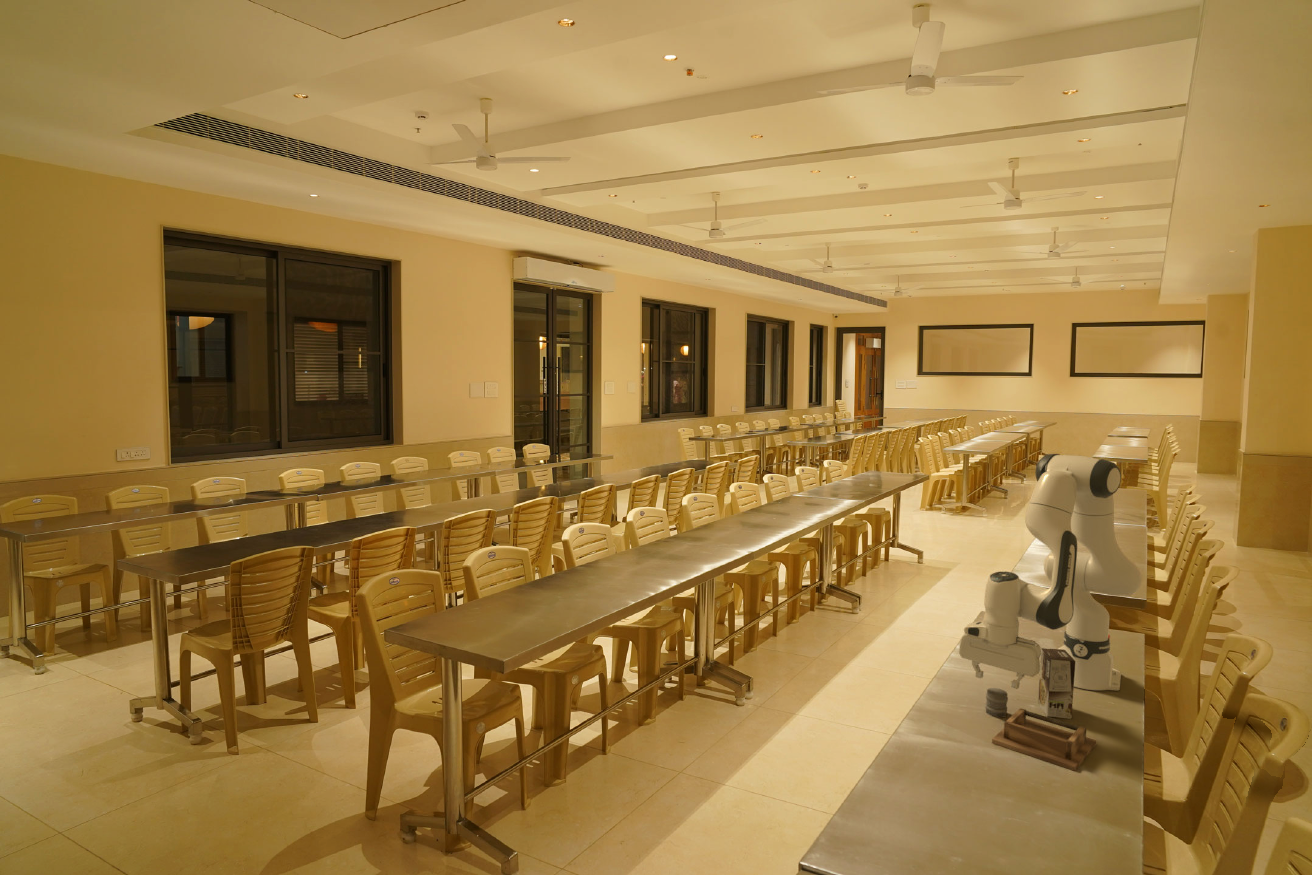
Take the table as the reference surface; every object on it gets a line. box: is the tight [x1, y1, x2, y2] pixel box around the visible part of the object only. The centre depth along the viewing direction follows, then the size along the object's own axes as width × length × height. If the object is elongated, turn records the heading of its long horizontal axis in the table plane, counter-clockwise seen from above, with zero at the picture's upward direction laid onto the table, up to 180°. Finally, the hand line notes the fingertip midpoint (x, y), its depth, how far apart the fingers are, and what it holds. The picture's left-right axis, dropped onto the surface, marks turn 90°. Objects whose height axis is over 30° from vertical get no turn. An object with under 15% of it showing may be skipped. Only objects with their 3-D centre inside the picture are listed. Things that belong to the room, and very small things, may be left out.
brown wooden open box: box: [991, 708, 1097, 772], centre depth 192 cm, size 18×19×5 cm
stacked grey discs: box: [984, 687, 1009, 718], centre depth 209 cm, size 5×5×6 cm
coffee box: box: [1037, 647, 1076, 720], centre depth 210 cm, size 9×6×16 cm
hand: (996, 682), depth 208 cm, fingers open, 8 cm apart
